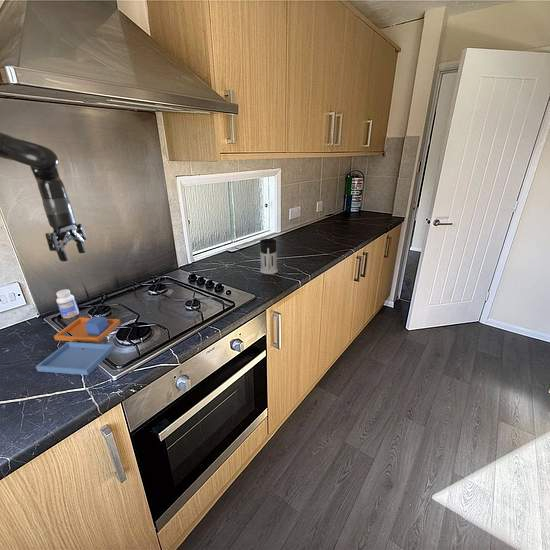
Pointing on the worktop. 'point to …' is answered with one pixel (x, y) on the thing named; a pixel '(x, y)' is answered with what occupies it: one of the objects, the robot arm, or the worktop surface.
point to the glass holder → (268, 256)
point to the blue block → (96, 326)
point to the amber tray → (84, 331)
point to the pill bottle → (66, 304)
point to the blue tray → (76, 358)
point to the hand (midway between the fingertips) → (73, 256)
